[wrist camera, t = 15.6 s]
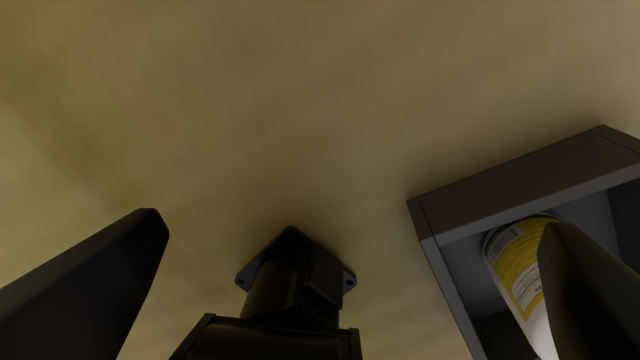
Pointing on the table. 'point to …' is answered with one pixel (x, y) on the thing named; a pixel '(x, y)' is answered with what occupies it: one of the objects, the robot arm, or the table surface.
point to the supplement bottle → (522, 276)
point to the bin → (518, 202)
